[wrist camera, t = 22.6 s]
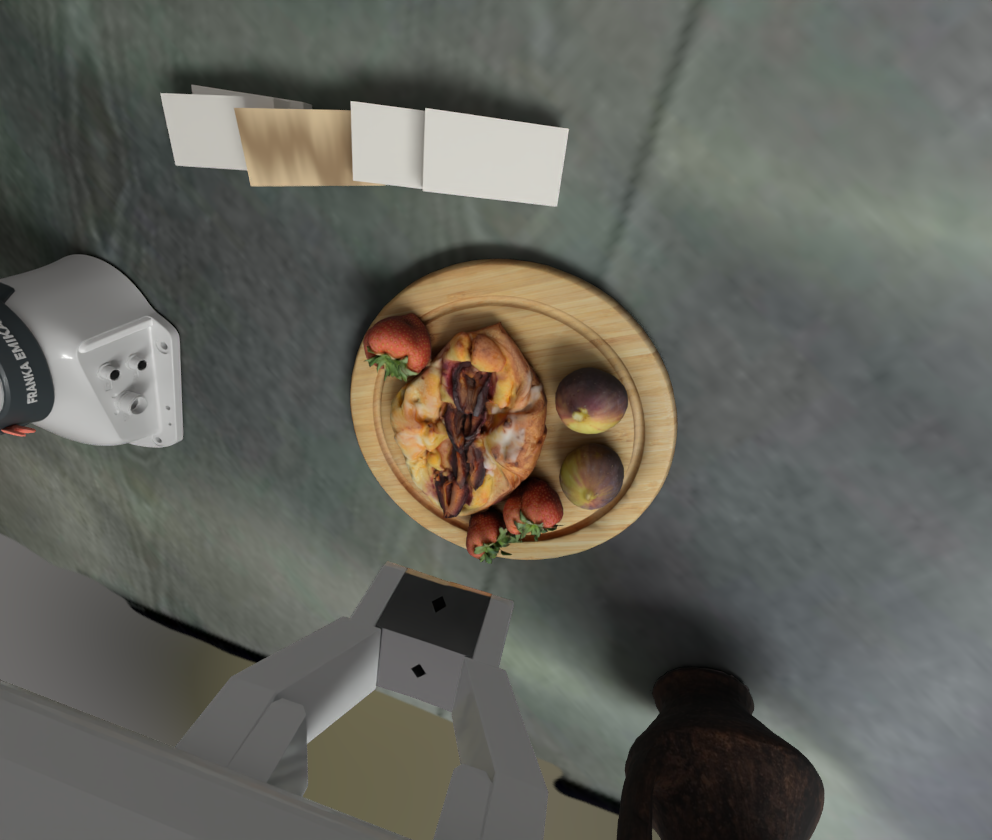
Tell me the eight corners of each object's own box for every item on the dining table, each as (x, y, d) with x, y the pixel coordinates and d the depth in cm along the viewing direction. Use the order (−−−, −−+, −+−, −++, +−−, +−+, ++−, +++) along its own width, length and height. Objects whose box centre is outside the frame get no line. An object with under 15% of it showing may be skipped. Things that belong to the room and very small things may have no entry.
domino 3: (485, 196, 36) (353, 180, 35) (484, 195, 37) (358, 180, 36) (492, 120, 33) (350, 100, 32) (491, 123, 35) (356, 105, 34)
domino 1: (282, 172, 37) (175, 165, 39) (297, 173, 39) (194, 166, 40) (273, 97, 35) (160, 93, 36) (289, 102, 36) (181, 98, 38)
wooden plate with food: (300, 348, 48) (245, 377, 41) (588, 180, 35) (582, 179, 28) (455, 573, 58) (432, 628, 50) (723, 504, 45) (744, 564, 38)
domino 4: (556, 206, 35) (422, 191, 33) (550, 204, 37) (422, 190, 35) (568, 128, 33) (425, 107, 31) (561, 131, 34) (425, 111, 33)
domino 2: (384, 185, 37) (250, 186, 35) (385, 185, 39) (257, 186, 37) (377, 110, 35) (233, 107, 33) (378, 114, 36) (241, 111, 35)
